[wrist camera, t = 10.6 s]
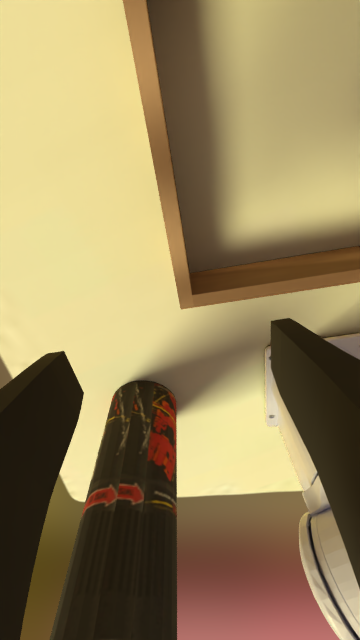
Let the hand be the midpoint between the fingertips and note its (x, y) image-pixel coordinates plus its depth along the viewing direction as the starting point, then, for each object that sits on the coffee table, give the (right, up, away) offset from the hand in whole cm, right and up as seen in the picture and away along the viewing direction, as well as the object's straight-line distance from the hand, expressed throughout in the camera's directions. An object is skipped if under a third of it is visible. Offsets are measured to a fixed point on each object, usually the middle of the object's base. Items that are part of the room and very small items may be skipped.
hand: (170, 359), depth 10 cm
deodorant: (-3, -6, +16) cm, 18 cm away
